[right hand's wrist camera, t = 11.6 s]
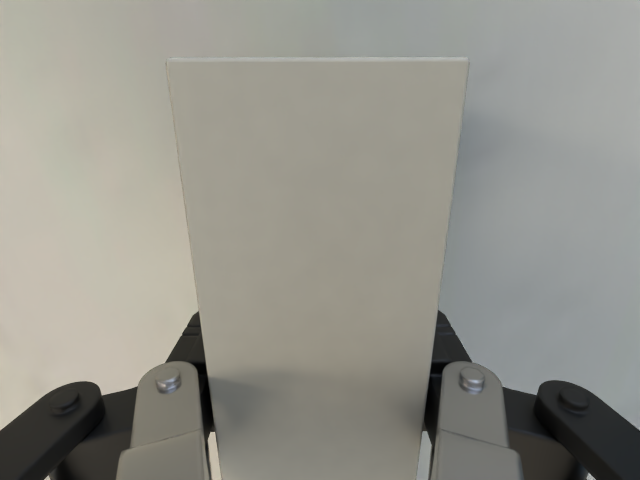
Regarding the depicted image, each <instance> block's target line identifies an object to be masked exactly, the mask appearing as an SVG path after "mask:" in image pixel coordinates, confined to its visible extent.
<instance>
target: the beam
mask: <svg viewBox="0 0 640 480" xmlns="http://www.w3.org/2000/svg"><path fill="white" fill-rule="evenodd" d="M469 65H470V62H469V59H468V58H466V57H195V58H168V59H166V70H167V77H168V85H169V92H170V100H171V107H172V115H173V122H174V129H175V137H176V144H177V152H178V159H179V167H180V174H181V181H182V189H183V196H184V204H185V211H186V219H187V226H188V233H189V241H190V248H191V256H192V263H193V270H194V278H195V285H196V293H197V300H198V308H199V315H200V322H201V330H202V337H203V345H204V352H205V360H206V367H207V374H208V382H209V389H210V397H211V404H212V411H213V419H214V426H215V434H216V441H217V449H218V456H219V463H220V471H221V478H222V480H416V476H417V468H418V460H419V453H420V445H421V437H422V429H423V422H424V414H425V406H426V398H427V391H428V383H429V375H430V367H431V360H432V352H433V344H434V336H435V329H436V321H437V313H438V305H439V298H440V290H441V282H442V274H443V267H444V259H445V251H446V243H447V236H448V228H449V220H450V212H451V204H452V197H453V189H454V181H455V173H456V166H457V158H458V150H459V142H460V135H461V127H462V119H463V111H464V104H465V96H466V88H467V80H468V73H469Z"/></svg>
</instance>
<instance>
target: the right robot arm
mask: <svg viewBox="0 0 640 480" xmlns="http://www.w3.org/2000/svg"><path fill="white" fill-rule="evenodd" d="M422 431H427V432H428V435H429V438H430V441H431V444H432V446H431V453H430V464H429V474H428V480H587V479H586V478H587V475H588V472H589V473H590V474H591V475H592V476H593V477H594V478H595V479H596V480H640V431H639V430H638V429H637V428H636V427H634V426H633V425H632V424H631V423H629V422H628V421H627V420H626V419H624V418H623V417H622V416H621V415H619V414H618V413H617V412H616V411H614V410H613V409H612V408H611V407H609V406H608V405H607V404H606V403H604V402H603V401H602V400H601V399H599V398H598V397H597V396H596V395H594V394H593V393H591V392H590V391H588V390H586V389H584V388H582V387H580V386H578V385H575V384H572V383H569V382H565V381H558V380H552V381H547V382H544V383H542V384H541V385H540V387H539V389H538V393H537V395H533V394H529V393H524V392H520V391H516V390H511V389H508V388H504V387H502V384H501V382H500V380H499V378H498V377H497V376H496V375H495V374H494V373H493V372H492V371H490V370H489V369H487V368H485V367H483V366H481V365H479V364H476V363H472V361H471V359H470V357H469V356H468V354H467V352H466V351H465V349H464V347H463V345H462V344H461V342H460V340H459V338H458V337H457V335H455V332H454V330H453V328H452V327H451V325H450V323H449V321H448V320H447V318H446V316H445V315H444V314H443V313H442V312H440V311H439V310H438V313H437V321H436V329H435V336H434V344H433V352H432V360H431V367H430V375H429V383H428V391H427V398H426V406H425V414H424V422H423V429H422ZM210 432H215V426H214V419H213V411H212V404H211V397H210V389H209V382H208V374H207V367H206V360H205V352H204V345H203V337H202V330H201V322H200V315H199V311H198V312H197V313H196V314H194V315H193V316H192V318H191V320H190V322H189V323H188V325H187V327H186V328H185V330H184V332H183V333H182V336H181V337H180V339H179V340H178V342H177V344H176V345H175V347H174V349H173V350H172V352H171V354H170V355H169V357H168V359H167V361H166V362H165V363H164V364H161V365H159V366H157V367H155V368H153V369H151V370H150V371H149V372H147V373H146V374H145V375H144V376H143V377H142V378H141V380H140V382H139V384H138V386H137V387H135V388H132V389H128V390H124V391H120V392H116V393H111V394H107V395H101V391H100V388H99V387H98V386H97V385H96V384H95V383H92V382H86V381H84V382H74V383H70V384H67V385H64V386H61V387H59V388H57V389H55V390H53V391H51V392H49V393H48V394H46V395H45V396H43V397H42V398H41V399H39V400H38V401H37V402H36V403H34V404H33V405H32V406H31V407H29V408H28V409H27V410H26V411H24V412H23V413H22V414H21V415H19V416H18V417H17V418H16V419H14V420H13V421H12V422H11V423H9V424H8V425H7V426H6V427H4V428H3V429H2V430H1V431H0V480H44V479H45V478H46V477H47V476H48V475H49V477H50V480H212V474H211V463H210V453H209V446H208V437H209V434H210Z"/></svg>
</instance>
